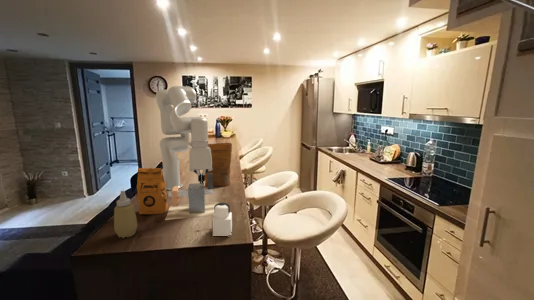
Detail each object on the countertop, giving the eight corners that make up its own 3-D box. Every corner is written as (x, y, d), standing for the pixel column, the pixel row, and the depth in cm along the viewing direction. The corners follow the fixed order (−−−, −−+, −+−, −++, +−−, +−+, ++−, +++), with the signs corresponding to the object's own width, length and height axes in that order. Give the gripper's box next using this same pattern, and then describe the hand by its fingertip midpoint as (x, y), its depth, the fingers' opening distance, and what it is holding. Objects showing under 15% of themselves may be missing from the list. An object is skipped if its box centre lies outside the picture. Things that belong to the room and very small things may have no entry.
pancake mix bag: (233, 186, 156) (232, 143, 151) (202, 188, 153) (200, 143, 148) (232, 183, 163) (231, 141, 158) (203, 184, 159) (201, 142, 155)
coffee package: (162, 217, 113) (159, 170, 109) (136, 216, 113) (131, 170, 109) (171, 208, 123) (168, 165, 119) (146, 208, 123) (143, 165, 119)
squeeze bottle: (114, 242, 92) (109, 196, 89) (115, 232, 99) (111, 189, 96) (138, 237, 95) (134, 192, 92) (138, 228, 102) (134, 186, 99)
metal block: (190, 207, 122) (189, 183, 119) (204, 205, 123) (204, 182, 121) (189, 213, 114) (188, 189, 112) (204, 212, 116) (203, 188, 113)
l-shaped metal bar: (169, 195, 115) (167, 175, 114) (213, 192, 120) (212, 173, 118) (168, 197, 113) (167, 177, 111) (213, 193, 118) (212, 174, 116)
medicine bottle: (214, 228, 102) (214, 201, 100) (232, 227, 103) (231, 200, 101) (212, 237, 95) (211, 208, 93) (231, 236, 96) (230, 207, 94)
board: (170, 207, 123) (170, 205, 123) (218, 203, 129) (218, 201, 129) (165, 222, 108) (165, 219, 108) (220, 216, 114) (220, 214, 113)
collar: (174, 200, 119) (173, 186, 118) (179, 200, 119) (178, 186, 118) (172, 206, 112) (171, 191, 111) (177, 206, 112) (176, 191, 111)
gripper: (182, 146, 108) (184, 186, 111) (216, 145, 112) (218, 184, 115) (183, 144, 116) (185, 181, 119) (216, 143, 119) (217, 179, 122)
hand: (201, 182), depth 117 cm, fingers closed
